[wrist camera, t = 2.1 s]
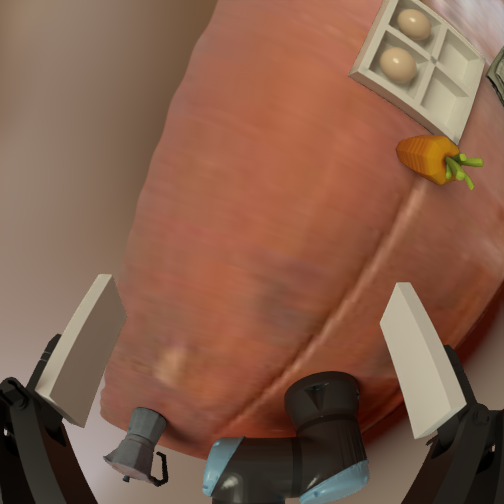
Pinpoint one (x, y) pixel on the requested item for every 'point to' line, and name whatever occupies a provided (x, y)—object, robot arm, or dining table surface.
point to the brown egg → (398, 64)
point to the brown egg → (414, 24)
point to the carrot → (435, 159)
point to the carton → (423, 70)
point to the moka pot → (140, 448)
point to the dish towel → (497, 75)
